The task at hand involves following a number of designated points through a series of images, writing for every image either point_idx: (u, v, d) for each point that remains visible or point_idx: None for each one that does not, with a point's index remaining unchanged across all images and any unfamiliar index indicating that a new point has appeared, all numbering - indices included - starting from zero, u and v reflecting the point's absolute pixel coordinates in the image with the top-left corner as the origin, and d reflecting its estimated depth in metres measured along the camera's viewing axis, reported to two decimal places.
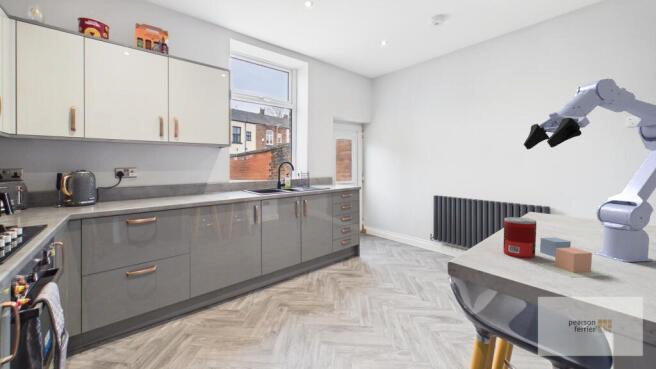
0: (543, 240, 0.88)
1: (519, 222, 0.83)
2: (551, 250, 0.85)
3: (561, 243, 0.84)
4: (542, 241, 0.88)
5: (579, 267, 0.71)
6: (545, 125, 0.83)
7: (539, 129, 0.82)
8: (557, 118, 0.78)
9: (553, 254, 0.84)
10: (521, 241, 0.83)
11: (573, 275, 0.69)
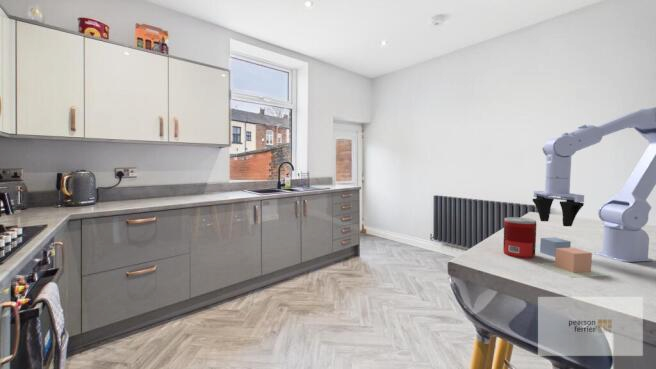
0: (543, 240, 0.88)
1: (519, 222, 0.83)
2: (551, 250, 0.85)
3: (561, 243, 0.84)
4: (542, 241, 0.88)
5: (579, 267, 0.71)
6: (543, 194, 0.89)
7: (542, 201, 0.89)
8: (552, 195, 0.85)
9: (553, 254, 0.84)
10: (521, 241, 0.83)
11: (573, 275, 0.69)
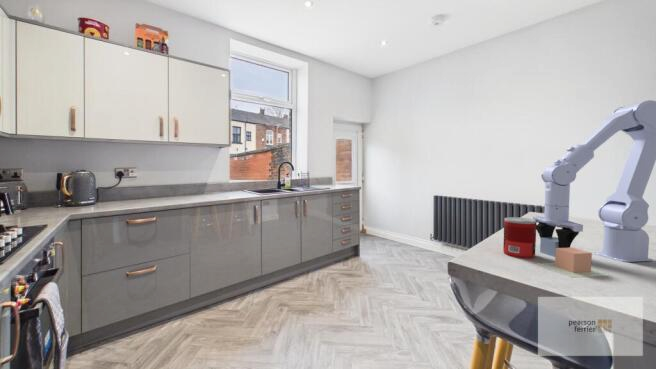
0: (543, 240, 0.88)
1: (519, 222, 0.83)
2: (551, 249, 0.85)
3: None
4: (542, 241, 0.88)
5: (579, 267, 0.71)
6: None
7: (544, 228, 0.89)
8: None
9: (553, 254, 0.84)
10: (521, 241, 0.83)
11: (573, 275, 0.69)
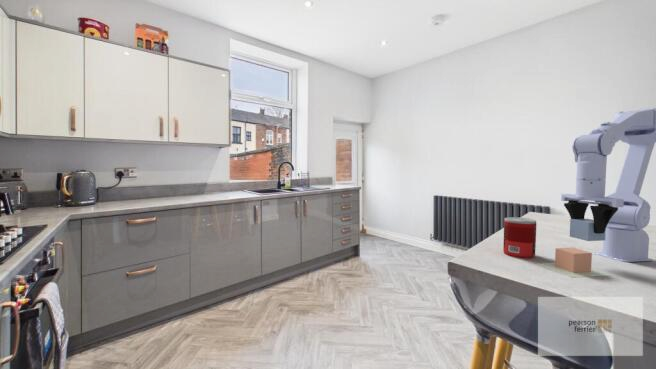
0: (573, 221, 0.78)
1: (519, 222, 0.83)
2: (583, 232, 0.75)
3: None
4: (572, 223, 0.78)
5: (579, 267, 0.71)
6: (573, 198, 0.80)
7: (575, 206, 0.79)
8: (585, 199, 0.75)
9: (586, 236, 0.75)
10: (521, 241, 0.83)
11: (573, 275, 0.69)
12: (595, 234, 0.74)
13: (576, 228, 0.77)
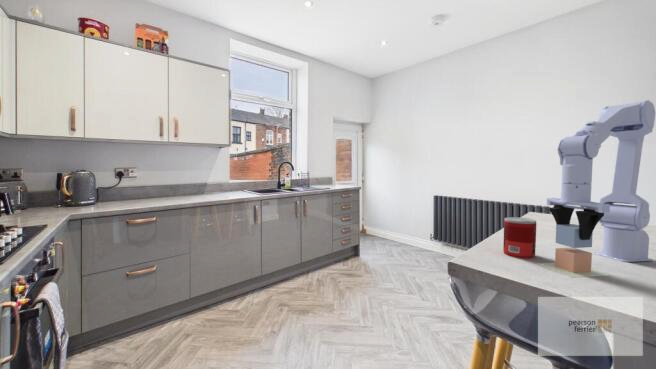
0: (559, 227, 0.75)
1: (519, 222, 0.83)
2: (569, 238, 0.72)
3: None
4: (558, 228, 0.75)
5: (579, 267, 0.71)
6: (558, 202, 0.77)
7: (560, 211, 0.76)
8: (570, 204, 0.72)
9: (572, 243, 0.71)
10: (521, 241, 0.83)
11: (573, 275, 0.69)
12: (581, 241, 0.71)
13: (562, 234, 0.74)
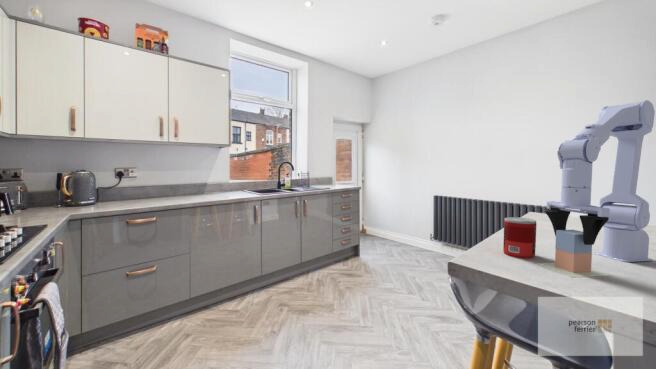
0: (559, 233, 0.75)
1: (519, 222, 0.83)
2: (569, 244, 0.72)
3: (581, 236, 0.71)
4: (558, 234, 0.75)
5: (579, 267, 0.71)
6: None
7: (557, 214, 0.77)
8: None
9: (572, 249, 0.71)
10: (521, 241, 0.83)
11: (573, 275, 0.69)
12: (581, 246, 0.71)
13: (562, 240, 0.74)
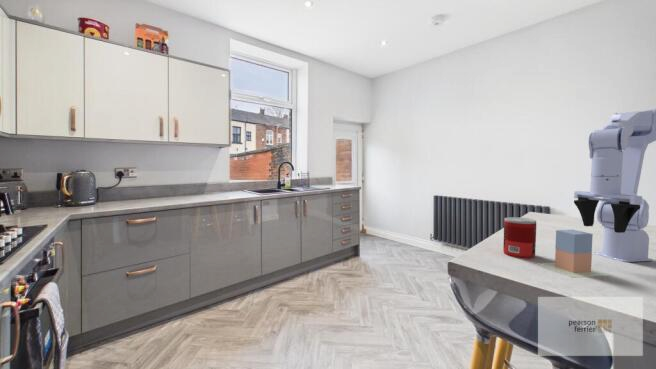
0: (559, 233, 0.75)
1: (519, 222, 0.83)
2: (569, 244, 0.72)
3: (581, 236, 0.71)
4: (558, 234, 0.75)
5: (579, 267, 0.71)
6: None
7: (585, 203, 0.78)
8: None
9: (572, 249, 0.71)
10: (521, 241, 0.83)
11: (573, 275, 0.69)
12: (581, 246, 0.71)
13: (562, 240, 0.74)
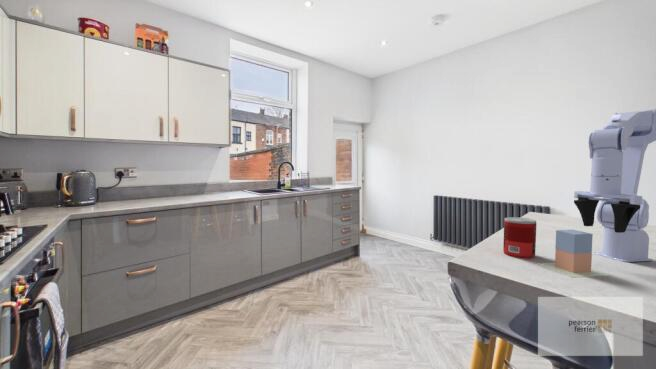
0: (559, 233, 0.75)
1: (519, 222, 0.83)
2: (569, 244, 0.72)
3: (581, 236, 0.71)
4: (558, 234, 0.75)
5: (579, 267, 0.71)
6: None
7: (585, 203, 0.78)
8: None
9: (572, 249, 0.71)
10: (521, 241, 0.83)
11: (573, 275, 0.69)
12: (581, 246, 0.71)
13: (562, 240, 0.74)
